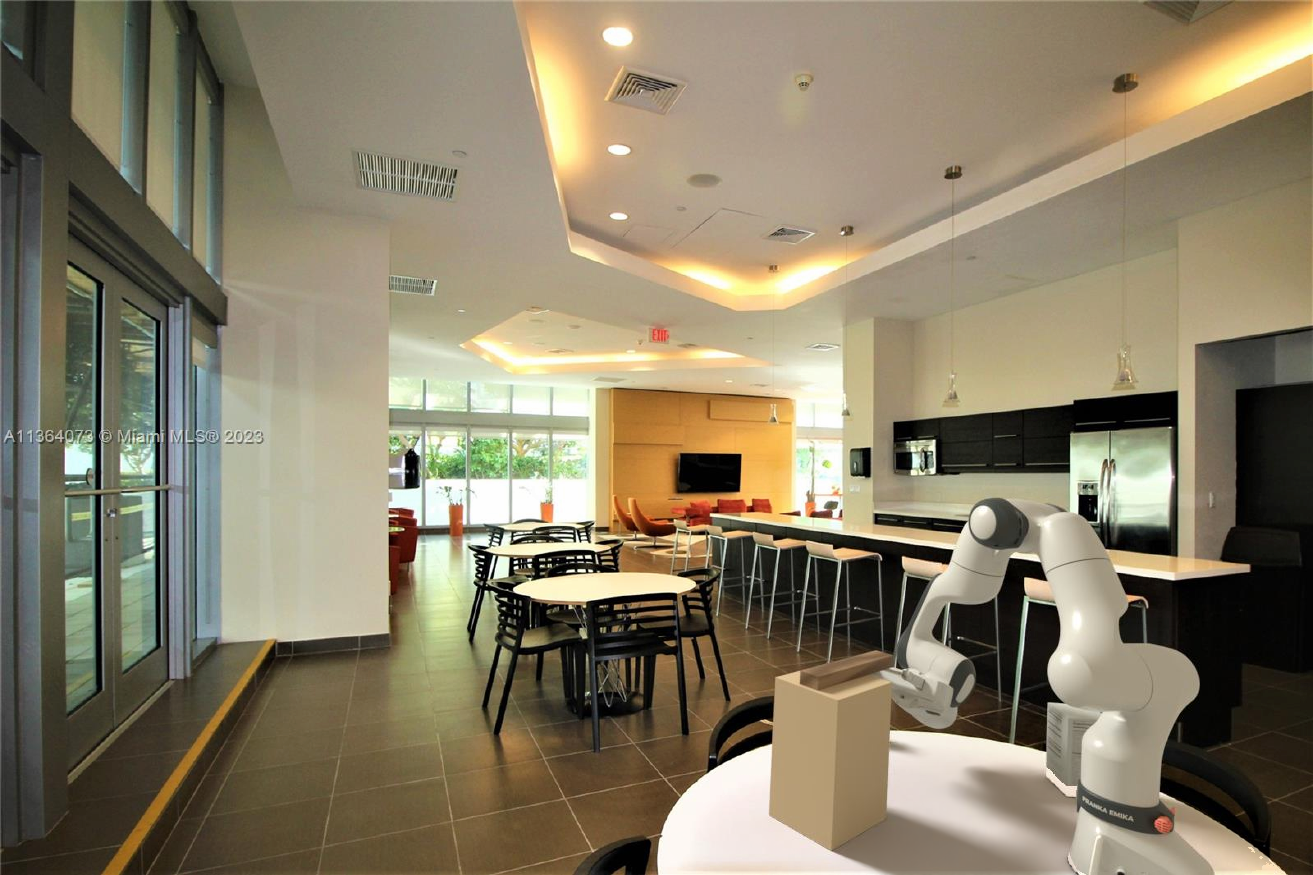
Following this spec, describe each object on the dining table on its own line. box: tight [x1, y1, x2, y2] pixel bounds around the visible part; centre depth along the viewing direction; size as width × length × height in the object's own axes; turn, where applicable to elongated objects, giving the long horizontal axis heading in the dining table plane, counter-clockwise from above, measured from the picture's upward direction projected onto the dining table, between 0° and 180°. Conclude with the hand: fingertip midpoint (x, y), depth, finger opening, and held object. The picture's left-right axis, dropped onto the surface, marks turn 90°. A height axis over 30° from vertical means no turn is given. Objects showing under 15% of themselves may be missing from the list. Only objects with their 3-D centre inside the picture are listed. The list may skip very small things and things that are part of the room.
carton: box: [768, 664, 892, 852], centre depth 126 cm, size 14×18×26 cm
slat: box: [799, 650, 894, 691], centre depth 130 cm, size 4×26×2 cm, turn 130°
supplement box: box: [1045, 702, 1102, 786], centre depth 143 cm, size 10×9×17 cm
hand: (884, 667), depth 138 cm, fingers open, 8 cm apart
